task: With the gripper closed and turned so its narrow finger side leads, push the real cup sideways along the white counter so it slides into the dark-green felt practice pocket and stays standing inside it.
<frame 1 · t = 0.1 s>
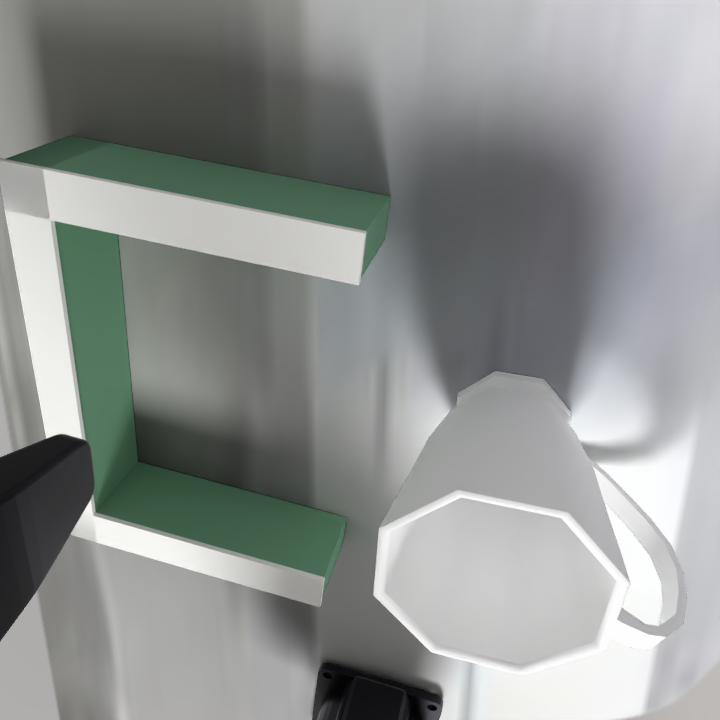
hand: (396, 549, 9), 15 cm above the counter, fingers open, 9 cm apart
pocket: (241, 368, 27), on the counter
cup: (545, 436, 25), on the counter
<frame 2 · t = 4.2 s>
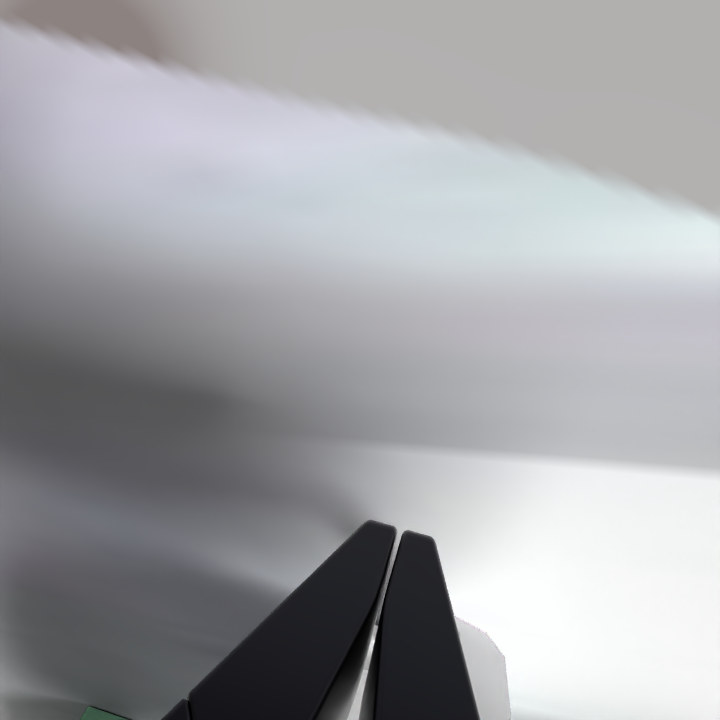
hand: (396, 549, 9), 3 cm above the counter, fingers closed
cup: (386, 639, 15), on the counter, touching gripper
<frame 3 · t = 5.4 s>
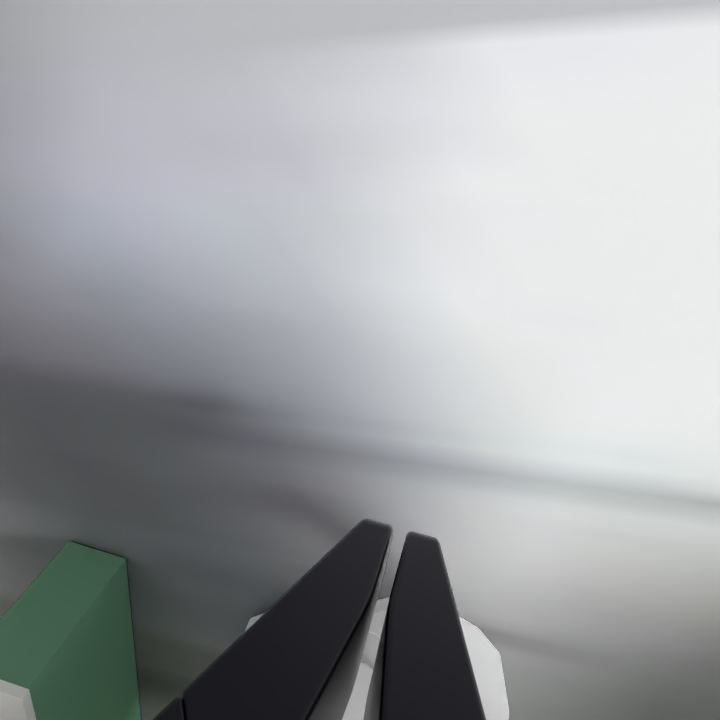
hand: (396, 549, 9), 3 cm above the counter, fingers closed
cup: (365, 627, 15), on the counter, touching gripper
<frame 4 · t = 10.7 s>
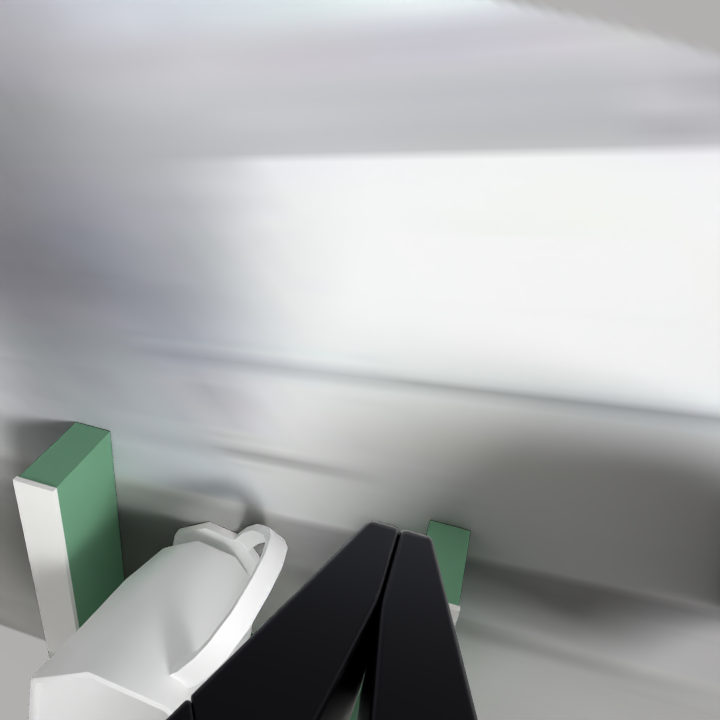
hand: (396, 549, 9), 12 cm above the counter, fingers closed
pocket: (258, 562, 28), on the counter
cup: (239, 541, 28), on the counter
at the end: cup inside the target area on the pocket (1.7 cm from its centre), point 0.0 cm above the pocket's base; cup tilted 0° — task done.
